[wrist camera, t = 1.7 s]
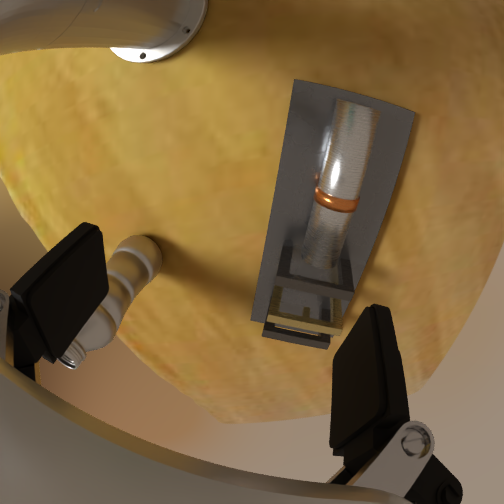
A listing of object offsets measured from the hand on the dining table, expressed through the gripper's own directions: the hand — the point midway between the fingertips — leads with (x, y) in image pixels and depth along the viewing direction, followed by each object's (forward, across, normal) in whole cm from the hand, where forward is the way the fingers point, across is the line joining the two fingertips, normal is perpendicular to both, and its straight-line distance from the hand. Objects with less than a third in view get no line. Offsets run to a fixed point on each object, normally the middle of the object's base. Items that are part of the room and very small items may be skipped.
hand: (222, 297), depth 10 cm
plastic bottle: (+23, +15, +18) cm, 33 cm away
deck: (+23, -6, +8) cm, 25 cm away
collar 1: (+21, -7, +11) cm, 25 cm away
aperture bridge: (+22, -7, +15) cm, 27 cm away
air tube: (+21, -6, +2) cm, 22 cm away
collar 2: (+21, -7, +19) cm, 29 cm away
